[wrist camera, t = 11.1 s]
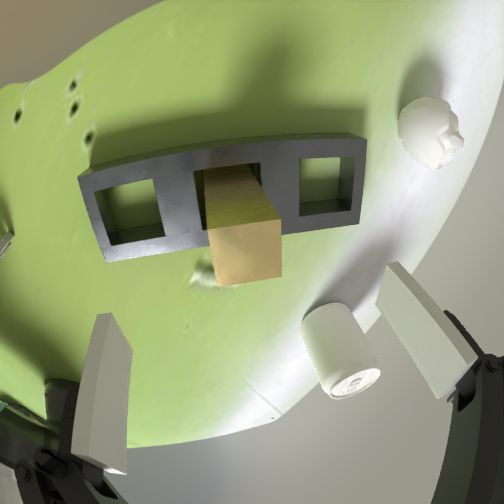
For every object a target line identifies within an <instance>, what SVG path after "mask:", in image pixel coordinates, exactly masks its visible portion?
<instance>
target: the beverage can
mask: <svg viewBox="0 0 504 504" xmlns="http://www.w3.org/2000/svg"><path fill="white" fill-rule="evenodd" d="M300 333H301V335H302V338H303V340H304V343H305V345H306V348H307V350H308V353H309V355H310V358H311V360H312V363H313V366H314V368H315V371H316V373H317V376H318V378H319V381H320V383H321V386H322V388H323V390H324V391H325V392H326V393H328V394H329V396H330V397H331V398H333V399H342V398H346V397H350V396H352V395H355V394H357V393H359V392H361V391H363V390H364V389H366V388H367V387H369V386H370V385H371V384H373V383H374V382H375V381H376V380H377V379H378V377H379V375H380V369H379V367H380V362H379V359H378V357H377V356H376V354H375V352H374V350H373V348H372V347H371V345H370V343H369V341H368V340H367V338H366V336H365V334H364V333H363V331H362V329H361V328H360V326H359V324H358V322H357V321H356V319H355V317H354V316H353V314H352V312H351V311H350V309H349V308H348V306H346V305H345V304H342V303H328V304H325V305H322V306H320V307H318V308H316V309H315V310H313V311H312V312H311V313H309V314H308V315H307V316H306V317H305V319H304V320H303V322H302V324H301V327H300Z"/></svg>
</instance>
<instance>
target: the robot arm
mask: <svg viewBox="0 0 504 504" xmlns="http://www.w3.org/2000/svg"><path fill="white" fill-rule="evenodd" d="M375 305H376V306H377V307H378V309H379V310H380V312H381V313H382V314H383V316H384V317H385V319H386V320H387V322H388V323H389V324H390V326H391V327H392V329H393V330H394V332H395V333H396V334H397V336H398V338H399V339H400V341H401V342H402V344H403V345H404V347H405V348H406V350H407V351H408V353H409V354H410V356H411V357H412V359H413V361H414V362H415V364H416V365H417V367H418V368H419V370H420V372H421V373H422V375H423V377H424V378H425V380H426V381H427V383H428V385H429V386H430V388H431V390H432V391H433V393H434V395H435V396H436V398H437V399H439V398H441V397H442V396H444V395H445V394H447V393H448V392H449V391H450V390H451V389H452V388H453V387H454V386H456V388H457V389H456V390H455V391H454V392H453V393H452V394H451V395H450V396H449V398H448V399H447V402H449V401H450V400H451V399H452V398H453V397H454V399H453V400H452V402H451V403H453V411H452V419H451V425H450V431H449V437H448V443H447V447H446V452H445V456H444V461H443V465H442V469H441V472H440V476H439V480H438V483H437V486H436V490H435V493H434V496H433V499H432V502H431V504H504V356H502V357H496V356H495V355H493V354H487V355H486V354H484V352H483V351H482V350H481V348H479V346H478V344H477V343H476V342H475V341H474V339H473V338H472V337H471V335H470V334H469V333H468V332H467V331H466V329H465V328H464V327H463V325H461V323H460V322H459V320H458V319H457V318H456V317H455V316H454V315H453V314H451V313H450V312H449V311H447V310H445V311H442V310H441V309H440V307H439V306H438V305H437V304H436V303H435V302H434V300H433V299H432V298H431V297H430V296H429V295H428V294H427V292H426V291H425V290H424V289H423V288H422V287H421V286H420V285H419V284H418V282H417V281H416V280H415V279H414V278H413V277H412V276H411V275H410V274H409V273H408V272H407V271H406V269H405V268H404V267H403V266H402V265H401V264H400V263H399V262H394V263H390V264H386V268H385V272H384V276H383V280H382V283H381V287H380V290H379V294H378V297H377V300H376V304H375ZM132 354H133V350H132V348H131V346H130V345H129V343H128V341H127V340H126V338H125V336H124V334H123V333H122V331H121V329H120V327H119V326H118V324H117V322H116V320H115V318H114V316H113V314H112V313H105V314H97V317H96V321H95V324H94V328H93V332H92V335H91V339H90V343H89V347H88V351H87V355H86V359H85V364H84V368H83V373H82V378H81V383H80V385H79V384H76V383H73V382H69V381H65V380H50V381H48V382H47V384H46V387H45V392H44V395H45V403H46V413H47V421H46V427H45V426H43V425H41V424H39V423H38V422H36V421H34V420H32V419H30V418H28V417H27V416H25V415H23V414H22V413H20V412H18V411H17V410H15V409H14V408H12V407H10V406H9V405H8V404H7V403H4V402H2V401H1V400H0V504H128V503H127V502H126V501H125V500H124V499H123V498H122V496H121V495H120V494H119V493H118V492H117V490H116V489H115V488H114V487H113V485H112V484H111V483H110V482H109V480H108V479H107V478H106V477H105V476H104V475H103V470H105V471H107V472H110V473H116V474H127V458H126V457H127V452H126V451H127V450H126V449H127V412H128V396H129V383H130V372H131V363H132Z"/></svg>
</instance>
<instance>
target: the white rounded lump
mask: <svg viewBox="0 0 504 504" xmlns="http://www.w3.org/2000/svg"><path fill="white" fill-rule="evenodd" d="M398 136H399V139H400V140H401V141H402V143H403V145H404V147H405V149H406V151H407V152H408V153H409V154H410V156H411V157H412V158H413V159H415V160H416V161H417V162H419V163H420V164H422V165H424V166H426V167H427V168H429V169H435V170H438V169H440V168H441V167H442V164H447V163H450V162H451V160H452V158H453V156H454V152H455V150H456V149H458V148H461V147H463V143H464V139H463V138H462V136H461V135H460V133H459V131H458V118H457V116H456V114H455V113H454V112H453V111H452V110H451V106H450V104H449V103H448V102H446V101H445V100H443V99H440V98H438V97H435V98H433V97H421V98H418V99H415V100H413V101H412V102H410V103H409V104H408V105H407V106H406V107H404V108H403V109H402V110H401V113H400V116H399V120H398Z"/></svg>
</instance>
